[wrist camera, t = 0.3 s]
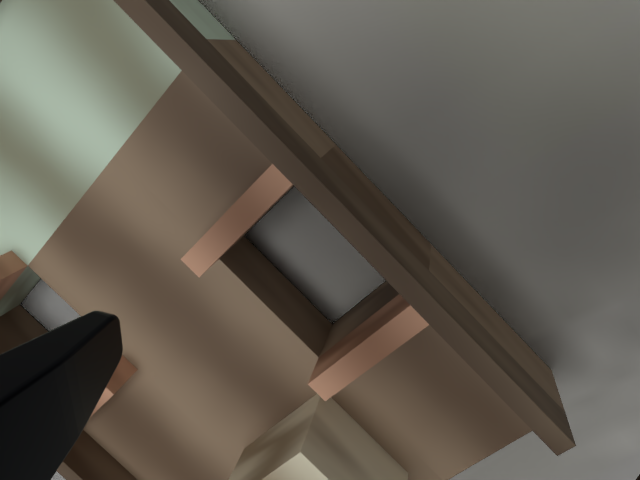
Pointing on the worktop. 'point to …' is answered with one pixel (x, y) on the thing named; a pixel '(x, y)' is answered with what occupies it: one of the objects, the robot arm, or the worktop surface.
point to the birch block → (317, 449)
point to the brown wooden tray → (227, 257)
